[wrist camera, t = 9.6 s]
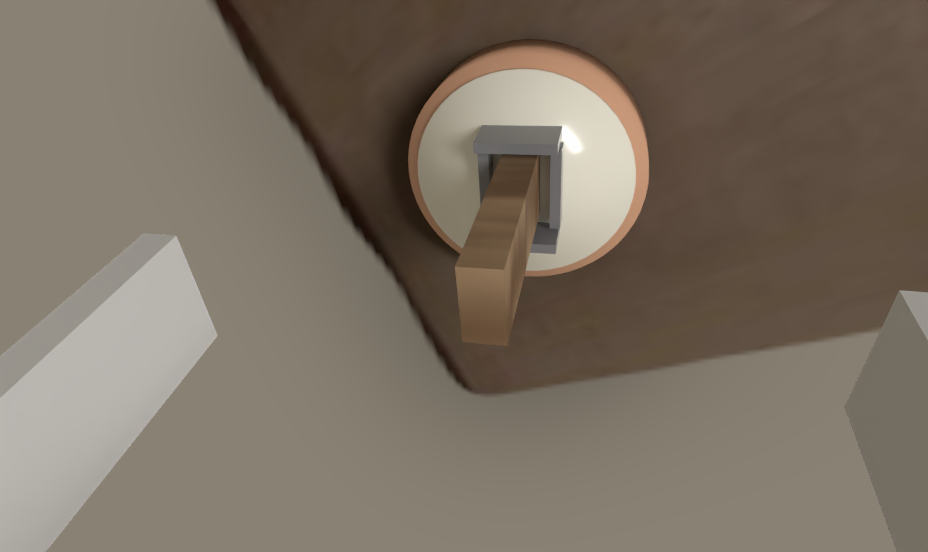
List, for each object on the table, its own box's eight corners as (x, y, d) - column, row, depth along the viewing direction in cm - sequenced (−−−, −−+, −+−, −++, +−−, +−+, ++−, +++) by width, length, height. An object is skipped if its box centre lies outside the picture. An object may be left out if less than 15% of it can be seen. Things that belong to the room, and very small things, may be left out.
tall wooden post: (504, 148, 34) (455, 266, 24) (539, 149, 33) (503, 269, 24) (506, 211, 36) (462, 341, 27) (539, 212, 36) (507, 345, 26)
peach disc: (409, 41, 35) (375, 71, 30) (660, 36, 32) (666, 69, 27) (433, 245, 43) (409, 294, 38) (636, 257, 40) (637, 312, 35)
